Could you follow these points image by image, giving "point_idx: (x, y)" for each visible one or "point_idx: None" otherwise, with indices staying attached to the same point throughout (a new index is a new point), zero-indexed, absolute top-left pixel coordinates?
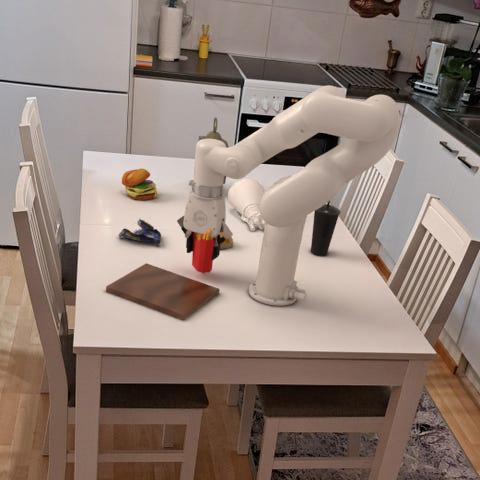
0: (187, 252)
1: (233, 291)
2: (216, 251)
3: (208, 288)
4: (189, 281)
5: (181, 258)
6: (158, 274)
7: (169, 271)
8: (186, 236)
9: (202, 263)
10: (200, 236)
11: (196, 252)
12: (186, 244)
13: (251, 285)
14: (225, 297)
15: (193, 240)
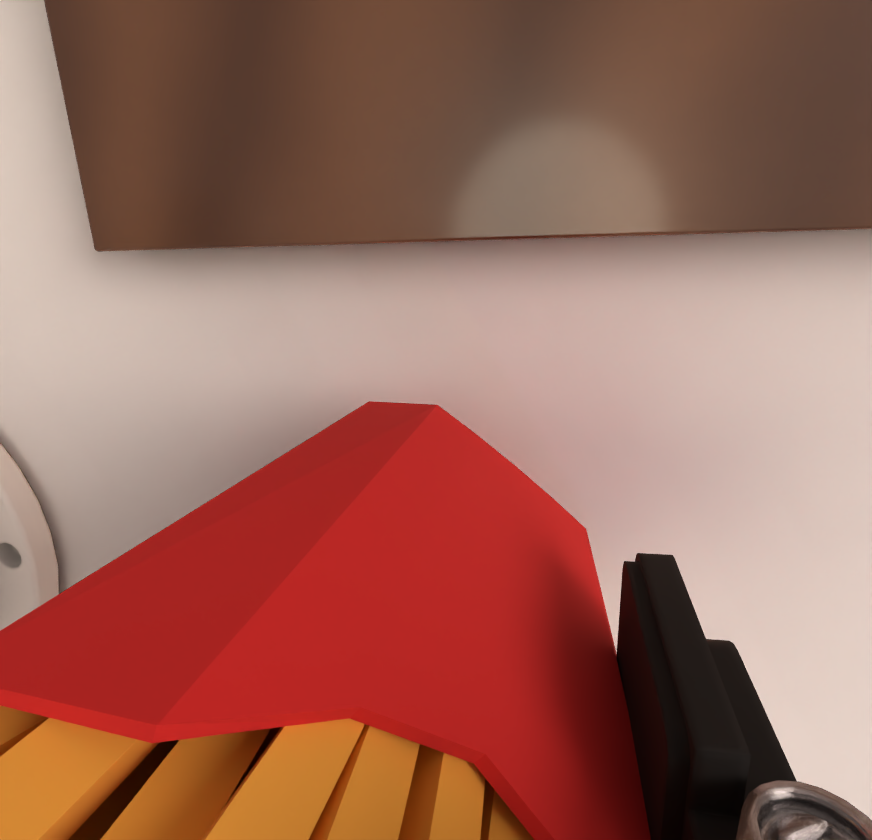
0: (654, 555)
1: (95, 389)
2: None
3: (163, 165)
4: (407, 159)
5: (819, 697)
6: (860, 9)
7: (758, 224)
8: (825, 829)
9: (334, 433)
10: (211, 826)
11: (467, 556)
12: (744, 680)
13: (7, 524)
14: (61, 231)
15: (635, 807)
